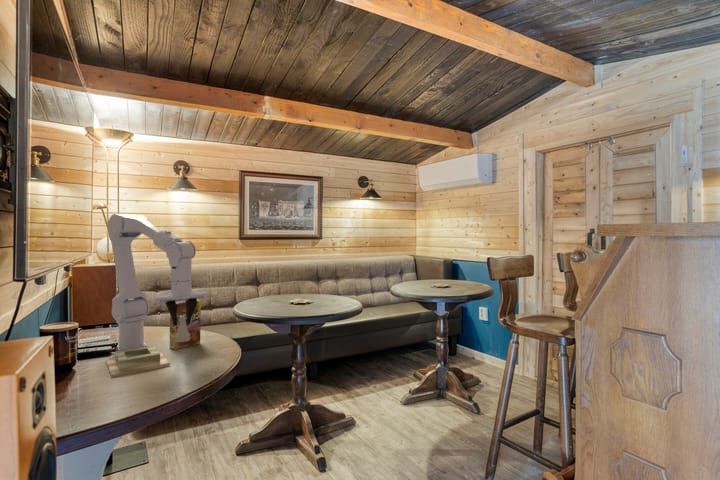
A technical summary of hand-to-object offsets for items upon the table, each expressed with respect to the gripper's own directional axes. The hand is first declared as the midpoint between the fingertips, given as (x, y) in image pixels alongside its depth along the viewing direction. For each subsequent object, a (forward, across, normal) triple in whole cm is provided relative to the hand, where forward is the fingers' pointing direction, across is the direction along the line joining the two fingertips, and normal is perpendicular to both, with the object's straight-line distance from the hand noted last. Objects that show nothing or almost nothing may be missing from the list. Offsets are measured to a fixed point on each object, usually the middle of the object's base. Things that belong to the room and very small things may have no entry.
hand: (181, 324), depth 116 cm
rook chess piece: (+5, 0, 0) cm, 5 cm away
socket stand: (+10, -12, 0) cm, 16 cm away
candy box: (+10, +3, +10) cm, 14 cm away
